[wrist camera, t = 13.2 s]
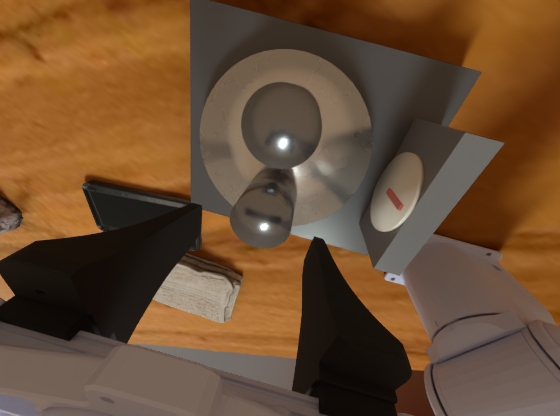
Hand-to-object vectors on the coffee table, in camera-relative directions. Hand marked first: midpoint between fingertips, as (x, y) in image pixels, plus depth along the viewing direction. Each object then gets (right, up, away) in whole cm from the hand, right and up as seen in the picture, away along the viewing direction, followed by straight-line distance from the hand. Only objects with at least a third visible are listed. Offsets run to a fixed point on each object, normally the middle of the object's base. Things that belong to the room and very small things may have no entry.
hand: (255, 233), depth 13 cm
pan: (+2, +6, +5) cm, 8 cm away
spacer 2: (+1, +3, +6) cm, 7 cm away
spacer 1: (+2, +8, +2) cm, 9 cm away
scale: (+4, +7, +7) cm, 11 cm away
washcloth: (-13, -9, +21) cm, 26 cm away
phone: (-16, +1, +15) cm, 22 cm away
